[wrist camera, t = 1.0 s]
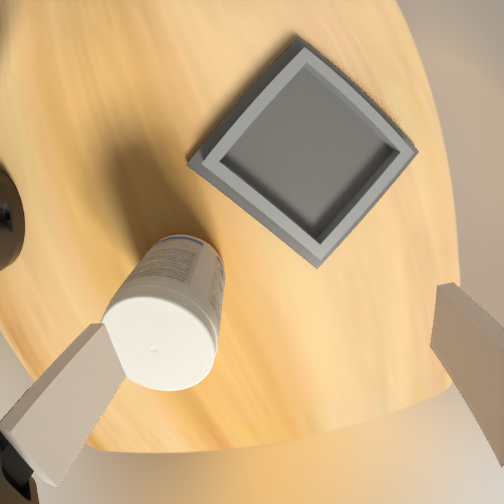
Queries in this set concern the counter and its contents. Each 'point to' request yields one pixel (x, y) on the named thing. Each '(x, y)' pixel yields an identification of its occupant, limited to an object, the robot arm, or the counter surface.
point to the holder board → (305, 153)
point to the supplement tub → (169, 314)
